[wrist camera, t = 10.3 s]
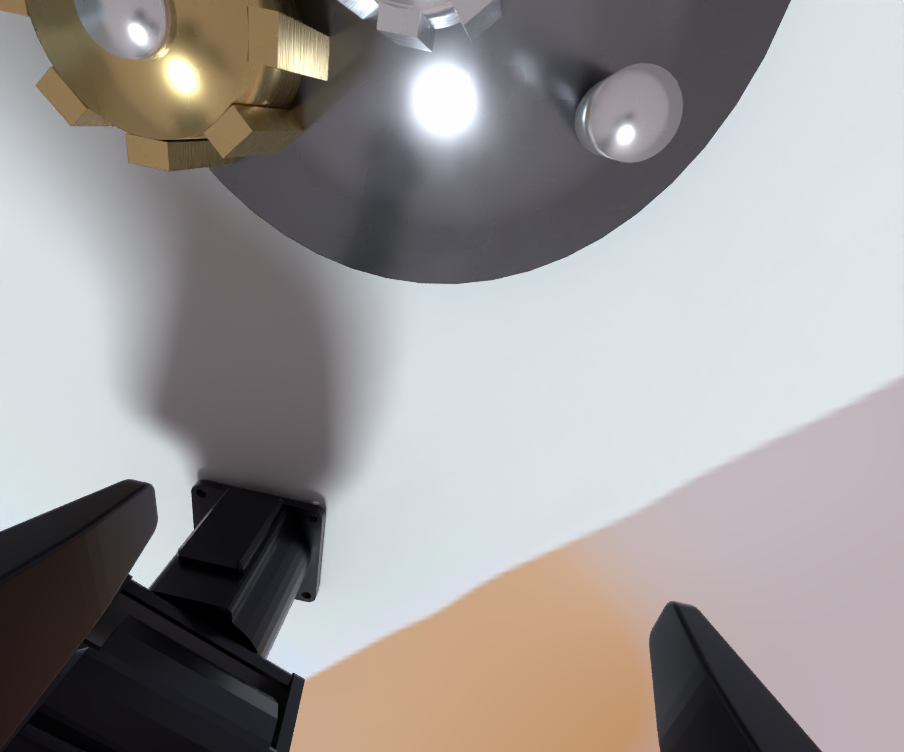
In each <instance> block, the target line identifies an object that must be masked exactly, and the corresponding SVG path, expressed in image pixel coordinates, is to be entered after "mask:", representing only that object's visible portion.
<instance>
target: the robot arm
mask: <svg viewBox="0 0 904 752" xmlns="http://www.w3.org/2000/svg"><path fill="white" fill-rule="evenodd" d="M203 490H204V491H205V492H204V491H203ZM191 494H192V508H193V522H194V531H193V532H192V533H191V534H190V536H189V537H188V538H187V539H186V541H185V542H184V543H183V544H182V546H181V547H180V548H179V549H178V552H177V553H176V555H175V556H174V557H173V558H172V560H171V561H170V562H169V563H168V565H167V566H166V567H165V569H164V570H163V571H162V572H161V574H160V575H159V576H158V577H157V579H156V580H155V581H154V582H153V584H152V585H151V586H150V587H149V589H147V588H146V587H144V586H142V585H141V584H139V583H137V582H136V581H134V580H132V576H131V575H129V572H130V570H131V569H132V567H133V566H134V564H135V562H136V561H137V559H138V557H139V556H140V554H141V553H142V551H143V549H144V548H145V546H146V545H147V543H148V541H149V540H150V538H151V537H152V535H153V533H154V531H155V529H156V526H157V522H158V515H157V506H156V498H155V490H154V487H153V486H152V485H151V484H149V483H146V482H141V481H137V480H132V479H127V480H123V481H121V482H118V483H116V484H113V485H111V486H109V487H106V488H104V489H101V490H99V491H97V492H94V493H92V494H89V495H87V496H85V497H82V498H80V499H77V500H75V501H73V502H70V503H68V504H65V505H63V506H60V507H58V508H56V509H53V510H51V511H48V512H46V513H44V514H41V515H39V516H36V517H34V518H32V519H29V520H27V521H24V522H22V523H20V524H17V525H15V526H12V527H10V528H8V529H5V530H3V531H0V752H289V750H290V746H291V741H292V736H293V732H294V727H295V723H296V718H297V713H298V709H299V704H300V700H301V695H302V690H303V686H304V681H305V679H304V678H302V677H300V676H298V675H297V674H295V673H292V674H290V673H289V672H287V671H285V670H283V669H282V668H280V667H278V666H277V665H275V664H273V663H272V662H270V661H268V660H267V659H266V658H267V656H268V654H269V652H270V650H271V648H272V646H273V643H274V641H275V639H276V637H277V635H278V633H279V631H280V629H281V626H282V624H283V622H284V620H285V618H286V616H287V614H288V611H289V609H290V607H291V605H292V603H293V601H294V599H296V600H301V601H305V602H312V601H314V600H315V598H316V596H317V593H318V590H319V578H320V567H321V556H322V545H323V534H324V523H325V512H324V510H323V509H322V508H321V507H320V506H317V505H314V504H309V503H305V502H300V501H296V500H291V499H287V498H282V497H278V496H273V495H269V494H265V493H260V492H256V491H251V490H247V489H242V488H238V487H233V486H229V485H224V484H220V483H215V482H211V481H206V480H200V481H198V482H197V483H196V484H195V485H194V487H193V488H192V490H191ZM311 514H313V515H315V516H316V517H315V516H312V515H311ZM649 648H650V659H651V669H652V679H653V690H654V701H655V711H656V722H657V731H658V738H659V746H660V752H822V751H821V750H820V749H819V748H818V747H817V745H816V744H815V743H814V742H813V741H812V740H811V739H810V737H808V735H807V734H806V733H805V732H804V730H803V729H802V728H801V727H800V726H799V725H798V724H797V722H796V721H794V719H793V718H792V717H791V715H790V714H789V713H788V712H787V711H786V710H785V709H784V707H783V706H782V705H781V704H780V703H779V702H778V701H777V699H776V698H775V697H774V696H773V695H772V694H771V692H770V691H769V690H768V689H767V688H766V687H765V686H764V685H763V683H762V682H761V681H760V680H759V679H758V678H757V677H756V675H755V674H754V673H753V672H752V671H751V670H750V668H749V667H748V666H747V665H746V664H745V663H744V661H743V660H742V659H741V658H740V657H739V656H738V654H736V652H735V651H734V650H733V649H732V648H731V647H730V645H729V644H728V643H727V642H726V641H725V640H724V638H723V637H722V636H721V635H720V634H719V633H718V631H717V630H716V629H715V628H714V627H713V626H712V625H711V623H710V622H709V621H708V620H707V619H706V618H705V616H704V615H703V614H702V613H701V612H700V611H699V610H698V609H697V608H696V607H694V606H692V605H689V604H684V603H680V602H675V601H670V602H669V603H667V604H666V606H665V607H664V609H663V611H662V613H661V615H660V616H659V618H658V620H657V621H656V623H655V625H654V627H653V628H652V631H651V633H650V638H649Z"/></svg>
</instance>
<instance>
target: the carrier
mask: <svg viewBox="0 0 904 752" xmlns="http://www.w3.org/2000/svg"><path fill="white" fill-rule="evenodd" d="M790 1H791V0H0V10H2V11H6V12H10V13H15V14H19V15H23V16H27V17H30V18H31V21H32V24H33V26H34V29H35V31H36V34H37V36H38V38H39V41H40V43H41V45H42V47H43V49H44V51H45V52H46V54H47V56H48V58H49V60H50V61H51V63H52V64H53V66H54V67H51V68H50V69H49V70H48V71H47V72H46V74H45V75H44V76H43V77H42V79H41V80H40V81H39V82H38V83H37V85H36V86H37V87H38V89H39V90H40V91H41V92H42V93H43V94H44V96H45V97H46V98H47V99H48V100H49V101H50V102H51V104H52V105H53V106H54V107H55V108H56V109H57V111H58V112H59V113H60V114H61V115H62V116H63V117H64V119H65V120H66V121H67V122H68V123H69V124H70V126H116V127H118V128H120V129H122V130H124V131H127V132H129V133H131V134H126V142H127V152H128V161H129V163H132V164H137V165H142V166H146V167H151V168H156V169H160V170H165V171H177V170H185V169H193V168H202V167H208V168H209V169H210V170H211V171H212V172H213V173H214V175H215V176H216V177H217V178H218V179H219V180H220V181H221V182H222V184H223V185H224V186H226V187H227V188H228V189H229V190H230V191H231V192H232V193H233V194H234V195H235V196H236V197H238V198H239V199H240V200H241V201H242V202H243V203H244V204H245V205H246V206H247V207H248V208H249V209H251V210H252V211H253V212H254V213H255V214H257V215H258V216H259V217H261V218H262V219H264V220H265V221H266V222H268V223H269V224H270V225H272V226H273V227H274V228H276V229H277V230H278V231H280V232H281V233H283V234H284V235H285V236H287V237H289V238H291V239H292V240H294V241H296V242H298V243H299V244H301V245H303V246H305V247H306V248H308V249H310V250H312V251H313V252H315V253H317V254H319V255H321V256H324V257H326V258H329V259H331V260H333V261H336V262H338V263H340V264H343V265H345V266H348V267H350V268H353V269H356V270H360V271H363V272H367V273H370V274H374V275H378V276H381V277H385V278H390V279H397V280H403V281H410V282H417V283H439V284H460V283H469V282H478V281H487V280H495V279H499V278H503V277H507V276H511V275H515V274H519V273H523V272H528V271H531V270H533V269H536V268H539V267H541V266H544V265H547V264H549V263H552V262H554V261H557V260H560V259H562V258H565V257H567V256H569V255H571V254H573V253H575V252H577V251H578V250H580V249H582V248H584V247H586V246H588V245H590V244H592V243H594V242H595V241H597V240H599V239H601V238H603V237H604V236H606V235H607V234H608V233H610V232H611V231H613V230H614V229H616V228H617V227H619V226H620V225H621V224H623V223H624V222H626V221H627V220H629V219H630V218H632V217H633V216H635V215H636V214H637V213H638V212H640V211H641V210H642V209H643V208H644V207H645V206H646V205H648V204H649V203H650V202H651V201H652V200H653V199H654V198H656V197H657V196H658V195H659V194H660V193H661V192H662V191H664V190H665V189H666V188H667V187H668V186H669V185H670V184H672V183H673V181H674V180H675V179H676V178H677V177H678V176H679V175H680V174H681V173H682V172H683V171H684V169H685V168H686V167H687V166H688V165H689V164H690V163H691V162H692V161H693V160H694V159H695V157H696V156H697V155H698V154H699V153H700V152H701V151H702V150H703V149H704V148H705V146H706V145H707V144H708V142H709V141H710V140H711V138H712V137H713V136H714V134H715V133H716V132H717V130H718V129H719V127H720V126H721V125H722V123H723V122H724V121H725V119H726V118H727V117H728V115H729V114H730V113H731V111H732V110H733V109H734V107H735V106H736V104H737V103H738V101H739V99H740V98H741V96H742V94H743V93H744V91H745V89H746V87H747V86H748V84H749V82H750V81H751V79H752V77H753V76H754V74H755V72H756V71H757V69H758V67H759V65H760V64H761V62H762V60H763V59H764V57H765V55H766V53H767V51H768V49H769V47H770V44H771V42H772V40H773V38H774V36H775V34H776V31H777V29H778V27H779V25H780V23H781V21H782V18H783V16H784V14H785V12H786V10H787V8H788V5H789V3H790Z"/></svg>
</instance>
